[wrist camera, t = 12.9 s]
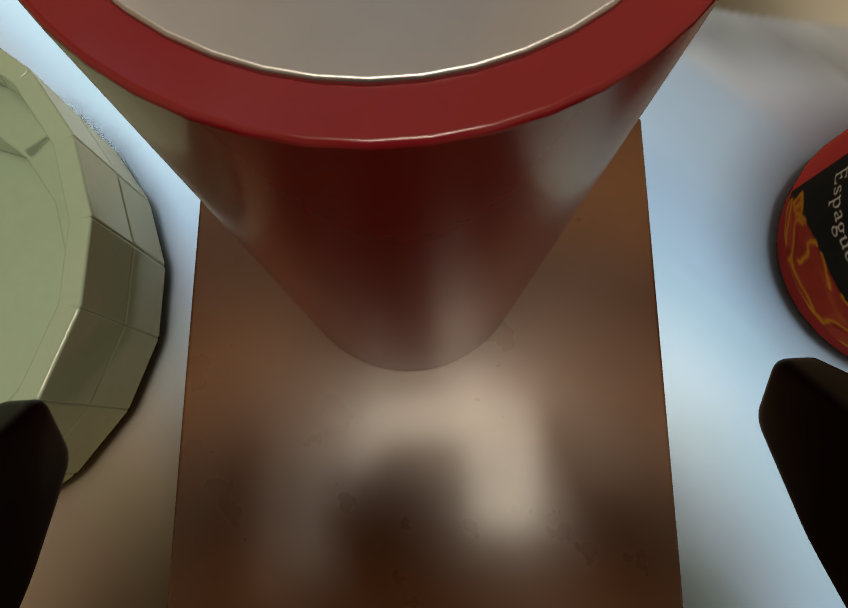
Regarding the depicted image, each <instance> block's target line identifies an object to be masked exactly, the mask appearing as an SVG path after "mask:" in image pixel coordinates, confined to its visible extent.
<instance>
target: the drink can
mask: <svg viewBox="0 0 848 608" xmlns="http://www.w3.org/2000/svg"><path fill="white" fill-rule="evenodd" d="M18 1H19V2H20V3H21V4H22V5H23V7H24V8H25V9H26V10H27V11H28V12H29V14H30V15H31V16H32V17H33V18H34V19H35V20H36V22H37V23H38V24H39V25H40V26H41V27H42V28H43V30H44V31H45V32H46V33H47V34H48V35H49V36H50V37H51V38H52V39H53V40H54V42H55V43H56V44H57V45H58V46H59V47H60V48H61V49H62V50H63V51H64V52H65V53H66V55H67V56H68V57H69V58H70V59H71V60H72V61H73V62H74V63H75V64H76V65H77V67H78V68H79V69H80V70H81V71H82V72H83V73H84V74H85V75H86V76H87V77H88V78H89V80H90V81H91V82H92V83H93V84H94V85H95V86H96V87H97V88H98V89H99V90H100V91H101V93H102V94H103V95H104V96H105V97H106V98H107V99H108V100H109V101H110V102H111V103H112V104H113V106H114V107H115V108H116V109H117V110H118V111H119V112H120V113H121V114H122V115H123V116H124V118H125V119H126V120H127V121H128V122H129V123H130V124H131V125H132V126H133V127H134V128H135V129H136V131H137V132H138V133H139V134H140V135H141V136H142V137H143V138H144V139H145V140H146V141H147V142H148V144H149V145H150V146H151V147H152V148H153V149H154V150H155V151H156V152H157V153H158V154H159V155H160V157H161V158H162V159H163V160H164V161H165V162H166V163H167V164H168V165H169V166H170V167H171V169H172V170H173V171H174V172H175V173H176V174H177V175H178V176H179V177H180V178H181V179H182V180H183V182H184V183H185V184H186V185H187V186H188V187H189V188H190V189H191V190H192V191H193V192H194V193H195V195H196V196H197V197H198V198H199V199H200V200H201V201H202V202H203V203H204V204H205V205H206V206H207V208H208V209H209V210H210V211H211V212H212V213H213V214H214V215H215V216H216V217H217V218H218V219H219V221H220V222H221V223H222V224H223V225H224V226H225V227H226V228H227V229H228V230H229V231H230V233H231V234H232V235H233V236H234V237H235V238H236V239H237V240H238V241H239V242H240V243H241V244H242V246H243V247H244V248H245V249H246V250H247V251H248V252H249V253H250V254H251V255H252V256H253V257H254V259H255V260H256V261H257V262H258V263H259V264H260V265H261V266H262V267H263V268H264V269H265V270H266V272H267V273H268V274H269V275H270V276H271V277H272V278H273V279H274V280H275V281H276V282H277V284H278V285H279V286H280V287H281V288H282V289H283V290H284V291H285V292H286V293H287V294H288V295H289V297H290V298H291V299H292V300H293V301H294V302H295V303H296V304H297V305H298V306H299V307H300V308H301V310H302V311H303V312H304V313H305V314H306V315H307V316H308V317H309V318H310V319H311V320H312V321H313V323H314V324H315V325H316V326H317V327H318V328H319V329H320V330H321V331H322V332H323V333H324V335H325V336H326V337H327V338H328V339H329V340H330V341H332V342H333V343H334V344H335V345H336V346H337V347H339V348H340V349H341V350H343V351H344V352H346V353H347V354H349V355H350V356H352V357H354V358H356V359H358V360H360V361H362V362H364V363H367V364H370V365H373V366H376V367H379V368H384V369H390V370H396V371H419V370H427V369H432V368H437V367H441V366H444V365H446V364H449V363H452V362H455V361H457V360H459V359H460V358H462V357H464V356H466V355H468V354H470V353H471V352H472V351H474V350H475V349H477V348H478V347H480V346H481V345H482V344H483V343H484V342H485V341H486V340H487V339H488V338H490V337H491V335H492V334H493V333H494V332H495V331H496V330H497V328H498V327H499V326H500V325H501V323H502V322H503V320H504V319H505V317H506V316H507V314H508V313H509V311H510V310H511V308H512V307H513V305H514V304H515V302H516V301H517V299H518V298H519V296H520V295H521V293H522V292H523V290H524V289H525V287H526V286H527V284H528V283H529V281H530V280H531V278H532V277H533V276H534V274H535V273H536V271H537V270H538V268H539V267H540V265H541V264H542V262H543V261H544V259H545V258H546V256H547V255H548V253H549V252H550V250H551V249H552V247H553V246H554V244H555V243H556V241H557V240H558V238H559V237H560V235H561V234H562V232H563V231H564V229H565V228H566V226H567V225H568V223H569V222H570V220H571V219H572V217H573V216H574V215H575V213H576V212H577V210H578V209H579V207H580V206H581V204H582V203H583V201H584V200H585V198H586V197H587V195H588V194H589V192H590V191H591V189H592V188H593V186H594V185H595V183H596V182H597V180H598V179H599V177H600V176H601V174H602V173H603V171H604V170H605V168H606V167H607V165H608V164H609V162H610V161H611V159H612V158H613V156H614V155H615V154H616V152H617V151H618V149H619V148H620V146H621V145H622V143H623V142H624V140H625V139H626V137H627V136H628V134H629V133H630V131H631V130H632V128H633V127H634V125H635V124H636V122H637V121H638V119H639V118H640V116H641V115H642V113H643V112H644V110H645V109H646V107H647V106H648V104H649V103H650V101H651V100H652V98H653V97H654V95H655V94H656V93H657V91H658V90H659V88H660V87H661V85H662V84H663V82H664V81H665V79H666V78H667V76H668V75H669V73H670V72H671V70H672V69H673V67H674V66H675V64H676V63H677V61H678V60H679V58H680V57H681V55H682V54H683V52H684V51H685V49H686V48H687V46H688V45H689V43H690V42H691V40H692V39H693V37H694V36H695V34H696V33H697V32H698V30H699V29H700V27H701V26H702V24H703V23H704V21H705V20H706V18H707V17H708V15H709V14H710V12H711V11H712V9H713V8H714V6H715V5H716V3H717V2H718V0H18Z"/></svg>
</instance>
